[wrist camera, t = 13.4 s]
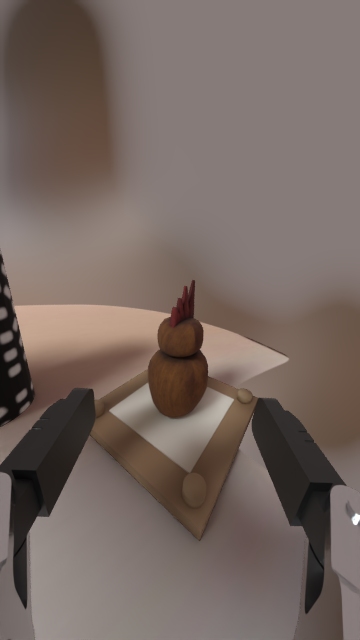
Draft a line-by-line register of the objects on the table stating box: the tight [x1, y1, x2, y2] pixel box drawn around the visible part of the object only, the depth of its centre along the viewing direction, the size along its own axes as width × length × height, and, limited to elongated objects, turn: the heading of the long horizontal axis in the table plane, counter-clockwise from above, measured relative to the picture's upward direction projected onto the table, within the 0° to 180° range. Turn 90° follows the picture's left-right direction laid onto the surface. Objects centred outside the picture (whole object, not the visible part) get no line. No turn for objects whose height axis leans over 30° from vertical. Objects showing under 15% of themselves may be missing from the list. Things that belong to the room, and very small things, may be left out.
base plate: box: [90, 369, 258, 541], centre depth 23 cm, size 16×16×2 cm
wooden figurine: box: [148, 280, 208, 418], centre depth 21 cm, size 7×6×15 cm
